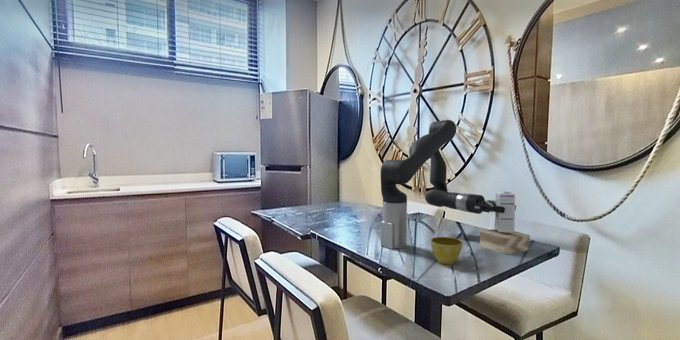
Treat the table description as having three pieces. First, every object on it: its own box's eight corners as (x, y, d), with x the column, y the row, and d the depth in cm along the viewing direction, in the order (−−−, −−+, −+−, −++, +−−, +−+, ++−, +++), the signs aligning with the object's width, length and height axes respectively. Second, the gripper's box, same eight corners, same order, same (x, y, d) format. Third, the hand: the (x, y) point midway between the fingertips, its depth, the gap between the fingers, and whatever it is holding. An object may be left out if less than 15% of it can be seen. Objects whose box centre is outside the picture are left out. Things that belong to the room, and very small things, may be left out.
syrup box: (514, 232, 128) (516, 193, 127) (497, 231, 130) (499, 193, 128) (510, 229, 134) (511, 191, 133) (494, 228, 135) (495, 191, 134)
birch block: (504, 255, 124) (504, 238, 124) (479, 246, 136) (480, 230, 135) (529, 251, 129) (529, 235, 128) (503, 243, 140) (503, 228, 139)
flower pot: (464, 268, 110) (464, 245, 110) (431, 266, 112) (431, 244, 112) (459, 258, 120) (459, 237, 120) (429, 256, 122) (429, 236, 121)
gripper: (460, 195, 138) (500, 200, 125) (479, 192, 146) (519, 197, 134) (459, 214, 138) (500, 221, 125) (479, 210, 147) (518, 216, 134)
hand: (510, 208), depth 130 cm, fingers closed on syrup box, 8 cm apart
